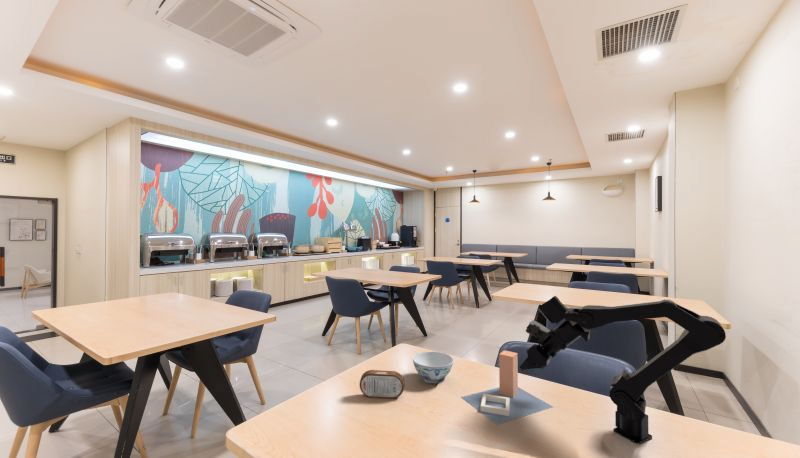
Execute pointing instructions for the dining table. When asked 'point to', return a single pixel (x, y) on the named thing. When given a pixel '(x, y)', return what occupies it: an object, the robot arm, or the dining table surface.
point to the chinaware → (432, 365)
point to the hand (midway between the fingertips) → (525, 363)
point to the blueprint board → (518, 407)
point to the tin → (382, 384)
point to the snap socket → (492, 408)
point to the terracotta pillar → (508, 373)
